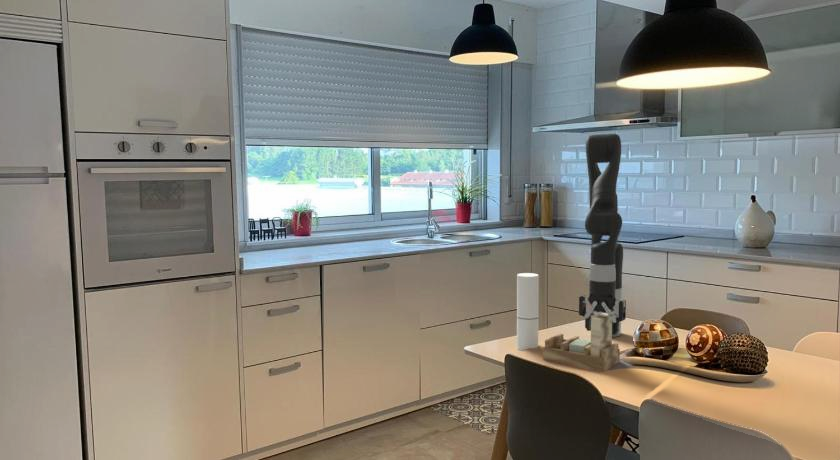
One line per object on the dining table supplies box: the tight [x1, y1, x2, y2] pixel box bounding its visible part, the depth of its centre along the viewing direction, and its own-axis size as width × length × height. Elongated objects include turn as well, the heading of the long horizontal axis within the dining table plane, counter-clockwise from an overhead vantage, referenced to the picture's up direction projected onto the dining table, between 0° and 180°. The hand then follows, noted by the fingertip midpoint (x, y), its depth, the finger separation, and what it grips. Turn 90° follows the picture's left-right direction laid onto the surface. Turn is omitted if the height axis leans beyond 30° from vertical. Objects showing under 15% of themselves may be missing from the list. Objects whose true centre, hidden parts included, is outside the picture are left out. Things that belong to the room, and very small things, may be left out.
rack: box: [542, 332, 621, 373], centre depth 201 cm, size 12×19×7 cm, turn 51°
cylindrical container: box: [516, 272, 540, 352], centre depth 218 cm, size 7×7×25 cm
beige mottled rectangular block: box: [590, 313, 613, 357], centre depth 197 cm, size 9×3×15 cm, turn 141°
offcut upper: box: [569, 338, 591, 354], centre depth 201 cm, size 7×5×3 cm, turn 145°
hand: (601, 332), depth 196 cm, fingers open, 7 cm apart
